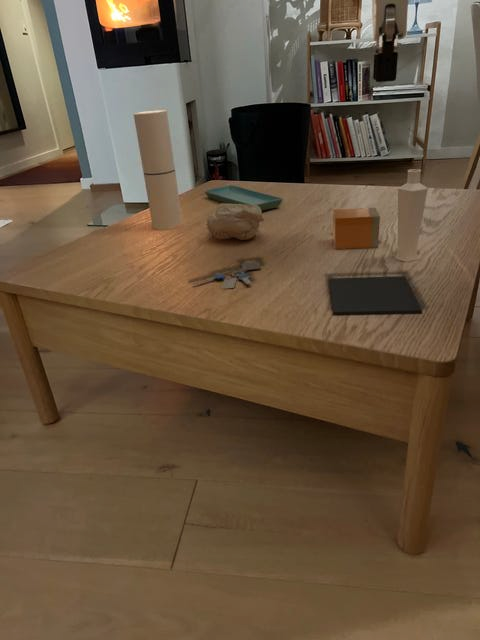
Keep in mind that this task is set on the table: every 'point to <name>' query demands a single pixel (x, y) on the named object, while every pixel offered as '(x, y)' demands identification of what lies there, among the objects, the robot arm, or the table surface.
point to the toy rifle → (231, 281)
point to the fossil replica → (235, 221)
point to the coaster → (372, 296)
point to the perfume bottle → (410, 215)
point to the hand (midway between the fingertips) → (383, 80)
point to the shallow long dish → (243, 197)
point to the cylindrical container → (158, 168)
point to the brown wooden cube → (356, 228)
